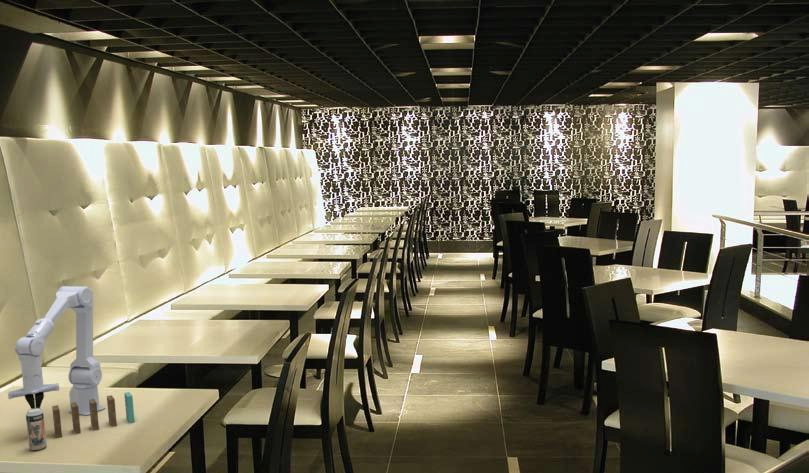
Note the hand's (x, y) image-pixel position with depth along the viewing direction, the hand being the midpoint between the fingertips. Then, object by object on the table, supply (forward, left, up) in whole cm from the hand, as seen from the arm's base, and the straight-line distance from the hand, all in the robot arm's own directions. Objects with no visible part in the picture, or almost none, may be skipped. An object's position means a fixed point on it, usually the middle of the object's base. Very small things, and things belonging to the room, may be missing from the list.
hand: (36, 416), depth 248 cm
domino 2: (+8, +8, -6) cm, 13 cm away
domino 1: (+5, +3, -6) cm, 9 cm away
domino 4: (+14, +18, -6) cm, 23 cm away
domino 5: (+17, +22, -6) cm, 29 cm away
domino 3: (+11, +13, -6) cm, 18 cm away
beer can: (+9, -7, -7) cm, 13 cm away
